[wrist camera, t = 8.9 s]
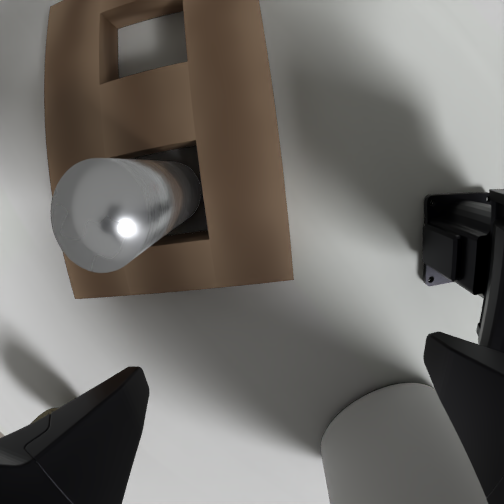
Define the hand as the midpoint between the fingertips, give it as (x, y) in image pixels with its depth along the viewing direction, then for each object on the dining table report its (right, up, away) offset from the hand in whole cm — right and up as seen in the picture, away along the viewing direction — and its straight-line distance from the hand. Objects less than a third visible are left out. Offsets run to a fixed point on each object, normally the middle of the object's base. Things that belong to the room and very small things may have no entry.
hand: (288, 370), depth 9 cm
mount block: (-7, +12, +9) cm, 17 cm away
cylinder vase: (+11, -13, +16) cm, 24 cm away
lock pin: (-6, +7, +11) cm, 14 cm away
